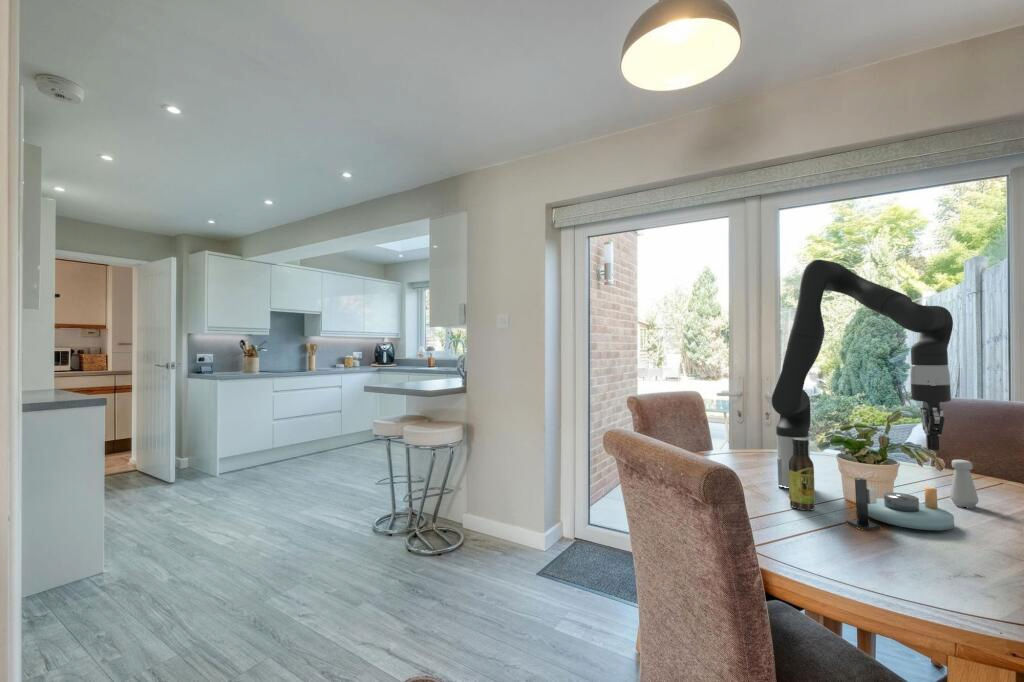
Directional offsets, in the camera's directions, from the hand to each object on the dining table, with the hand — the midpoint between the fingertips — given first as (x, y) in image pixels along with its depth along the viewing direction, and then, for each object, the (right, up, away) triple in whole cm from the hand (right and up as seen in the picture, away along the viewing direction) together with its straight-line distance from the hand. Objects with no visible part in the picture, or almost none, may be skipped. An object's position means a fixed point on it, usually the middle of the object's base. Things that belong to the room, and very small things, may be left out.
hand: (933, 449), depth 116 cm
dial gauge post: (-18, -20, 0) cm, 27 cm away
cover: (-5, -16, +3) cm, 17 cm away
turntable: (-5, -18, +2) cm, 19 cm away
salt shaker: (+20, -19, +12) cm, 31 cm away
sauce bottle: (-24, -21, +14) cm, 35 cm away
